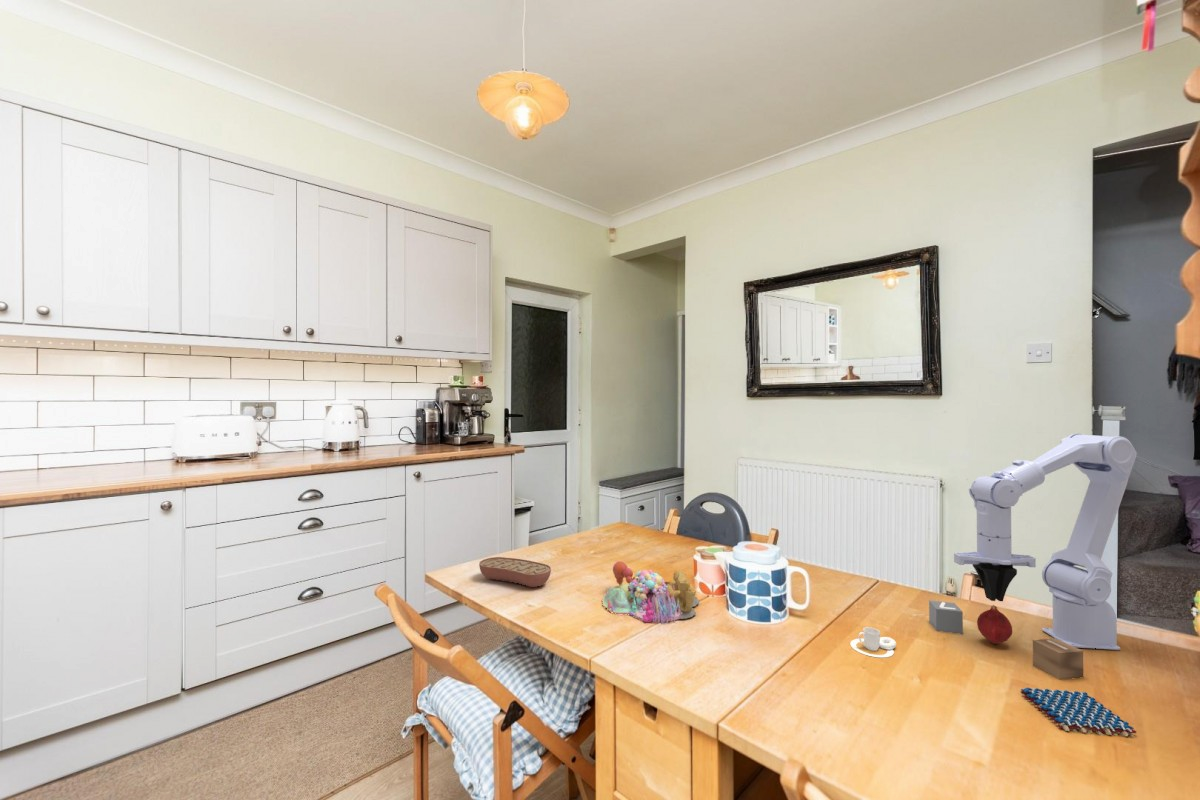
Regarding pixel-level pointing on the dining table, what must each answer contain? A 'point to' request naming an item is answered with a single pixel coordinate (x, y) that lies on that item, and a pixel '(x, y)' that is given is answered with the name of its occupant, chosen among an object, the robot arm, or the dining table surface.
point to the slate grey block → (946, 616)
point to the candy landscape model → (650, 595)
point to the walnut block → (1058, 658)
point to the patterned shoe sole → (515, 570)
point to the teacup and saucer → (874, 642)
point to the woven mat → (1077, 712)
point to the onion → (994, 626)
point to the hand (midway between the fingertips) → (994, 599)
